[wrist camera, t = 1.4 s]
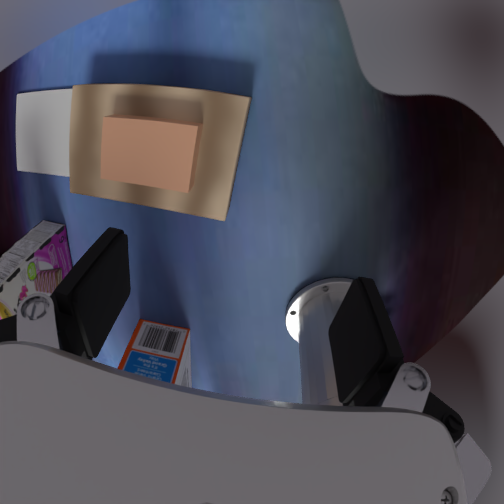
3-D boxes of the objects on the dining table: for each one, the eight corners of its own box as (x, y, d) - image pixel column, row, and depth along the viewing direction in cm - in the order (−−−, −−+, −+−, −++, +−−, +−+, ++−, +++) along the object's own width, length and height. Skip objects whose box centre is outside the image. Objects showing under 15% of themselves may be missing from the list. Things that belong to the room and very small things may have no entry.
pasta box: (139, 318, 41) (70, 501, 16) (190, 328, 42) (140, 528, 16) (155, 392, 53) (121, 518, 28) (192, 400, 54) (167, 531, 28)
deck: (252, 97, 25) (249, 97, 22) (229, 207, 31) (224, 221, 28) (90, 83, 24) (73, 85, 21) (86, 182, 30) (70, 192, 27)
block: (203, 123, 23) (197, 126, 22) (193, 185, 26) (188, 193, 25) (113, 114, 23) (103, 116, 21) (110, 172, 26) (100, 178, 24)
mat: (83, 88, 24) (82, 88, 24) (79, 177, 30) (78, 178, 30) (18, 93, 23) (17, 94, 23) (18, 169, 29) (17, 170, 29)
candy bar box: (79, 286, 39) (26, 365, 25) (55, 279, 39) (1, 351, 25) (67, 222, 33) (-9, 298, 19) (42, 217, 33) (-32, 286, 19)
